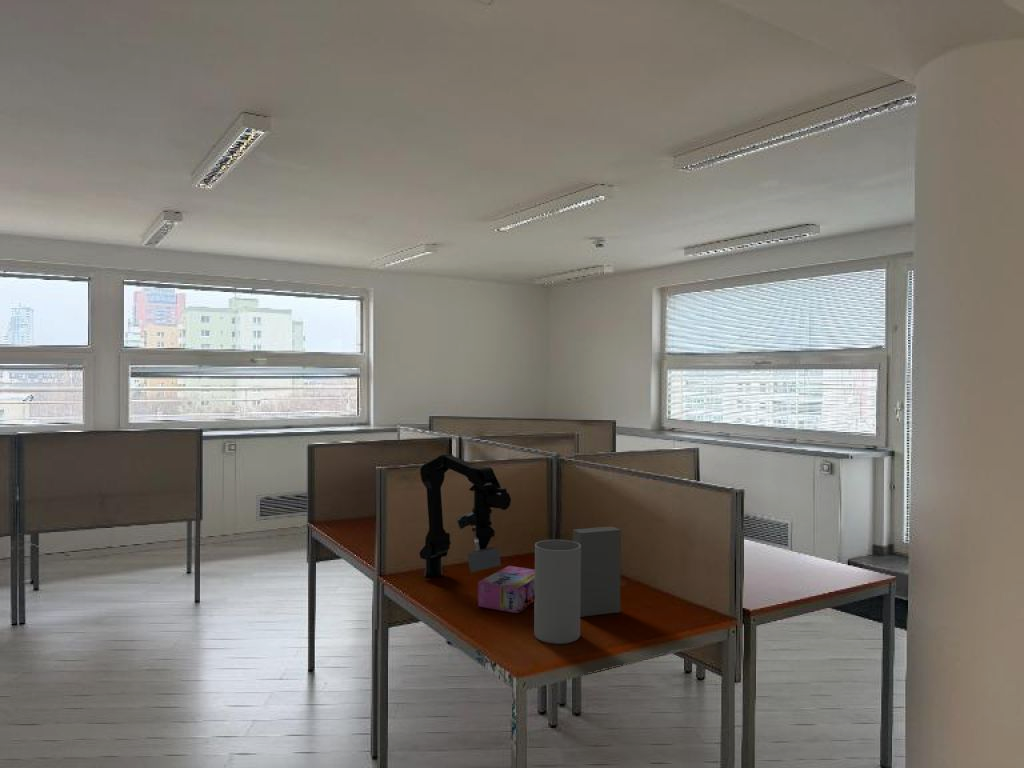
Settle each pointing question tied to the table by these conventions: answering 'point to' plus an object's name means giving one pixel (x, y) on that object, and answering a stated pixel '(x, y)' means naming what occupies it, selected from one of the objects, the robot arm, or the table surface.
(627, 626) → the table surface
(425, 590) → the table surface
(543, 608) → the cylinder vase
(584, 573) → the upright grey panel
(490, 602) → the gum box
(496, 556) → the pusher
